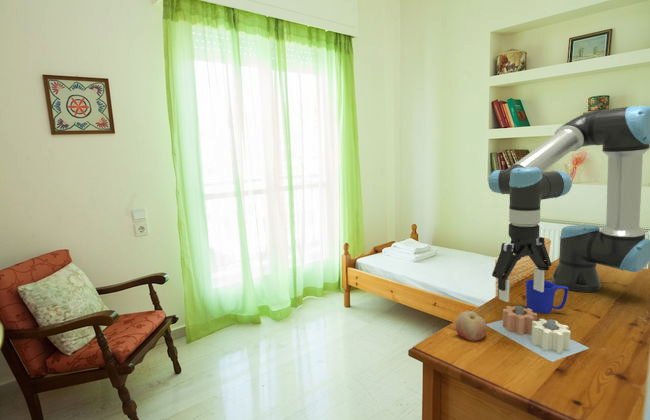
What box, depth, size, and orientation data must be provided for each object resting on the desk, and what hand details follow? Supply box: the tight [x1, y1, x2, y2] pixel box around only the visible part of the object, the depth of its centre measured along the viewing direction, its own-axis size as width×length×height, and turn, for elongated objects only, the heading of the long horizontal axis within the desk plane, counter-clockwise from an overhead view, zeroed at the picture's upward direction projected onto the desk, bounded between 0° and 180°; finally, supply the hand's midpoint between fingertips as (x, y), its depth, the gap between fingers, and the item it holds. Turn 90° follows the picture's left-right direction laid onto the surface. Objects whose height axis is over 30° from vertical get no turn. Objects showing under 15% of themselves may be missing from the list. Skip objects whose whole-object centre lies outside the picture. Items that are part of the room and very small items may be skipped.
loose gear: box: [502, 305, 538, 335], centre depth 103 cm, size 9×9×5 cm
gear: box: [531, 318, 571, 353], centre depth 94 cm, size 9×9×5 cm
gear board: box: [486, 305, 590, 363], centre depth 99 cm, size 14×21×8 cm, turn 21°
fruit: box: [454, 310, 488, 342], centre depth 101 cm, size 8×8×8 cm
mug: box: [525, 278, 569, 314], centre depth 114 cm, size 8×12×10 cm
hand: (521, 295), depth 102 cm, fingers open, 13 cm apart
